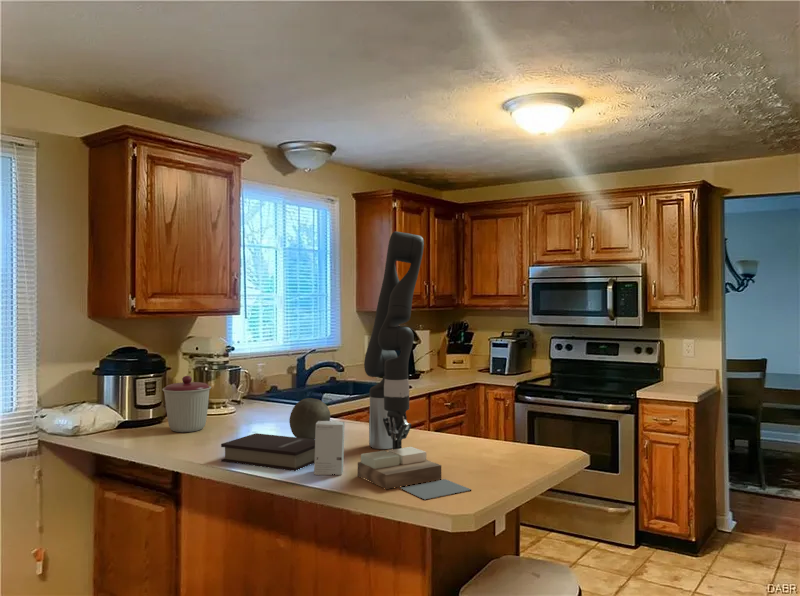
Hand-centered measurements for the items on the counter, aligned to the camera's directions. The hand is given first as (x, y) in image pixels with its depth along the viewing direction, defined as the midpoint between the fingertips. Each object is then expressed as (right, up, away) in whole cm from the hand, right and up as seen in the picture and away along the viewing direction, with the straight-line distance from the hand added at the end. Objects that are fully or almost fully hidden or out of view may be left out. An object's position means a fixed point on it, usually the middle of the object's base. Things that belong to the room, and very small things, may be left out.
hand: (397, 452), depth 198 cm
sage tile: (-5, -1, -9) cm, 10 cm away
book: (-39, -6, +14) cm, 41 cm away
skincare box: (-20, -6, -3) cm, 21 cm away
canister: (-82, -6, +61) cm, 102 cm away
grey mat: (+10, -5, -21) cm, 24 cm away
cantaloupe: (-31, -5, +40) cm, 51 cm away
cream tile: (+3, -1, -5) cm, 6 cm away
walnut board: (+1, -5, -9) cm, 11 cm away
